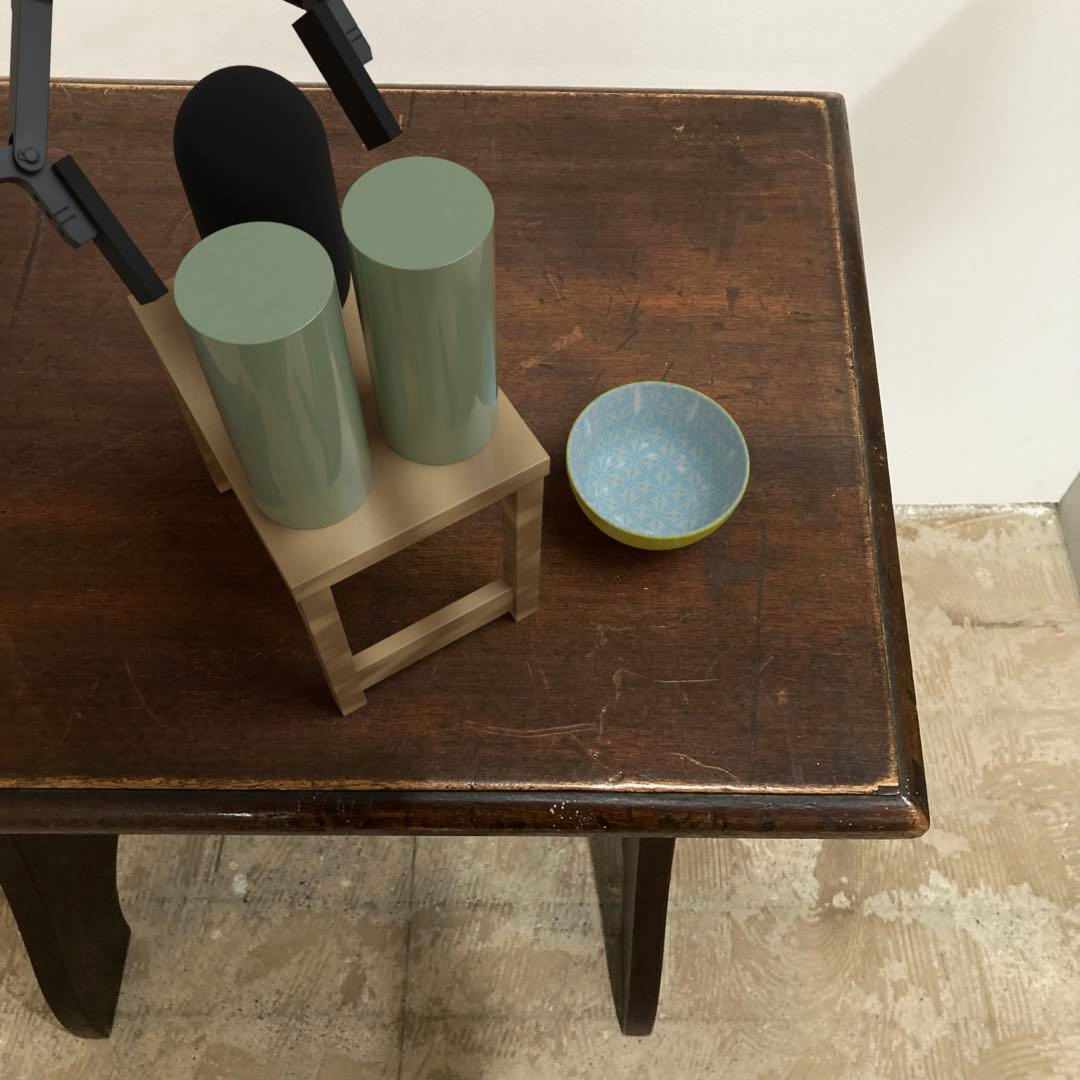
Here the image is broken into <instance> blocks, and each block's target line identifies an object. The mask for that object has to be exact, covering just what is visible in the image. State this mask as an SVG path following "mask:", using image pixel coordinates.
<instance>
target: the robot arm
mask: <svg viewBox="0 0 1080 1080" xmlns="http://www.w3.org/2000/svg"><path fill="white" fill-rule="evenodd" d="M282 1H283V2H285V3H287V4H290V5H292V6H294V7H296V8H298V9H300V10H302V11H303V10H304V11H305V13H304V14H302V15H301V16H300V17H298V19H296V20H295V21H294V22H293V23H291V27H292V29H293V30H294V32H295V33H296V35H297V37H298V39H299V40H300V42H301V44H302V45H303V47H304V48H305V50H306V51H307V53H308V54H309V56H310V58H311V60H312V61H313V62H314V65H315V66H316V68H317V70H318V71H319V73H320V74H321V76H322V78H323V79H324V81H325V82H326V84H327V86H328V87H329V89H330V91H331V92H332V95H333V96H334V98H335V99H336V101H337V103H338V104H339V105H340V107H341V109H342V110H343V112H344V114H345V116H346V117H347V119H348V120H349V122H350V124H351V125H352V127H353V128H354V131H355V132H356V134H357V135H358V137H359V138H360V140H361V142H362V143H363V145H364V147H365V148H366V150H367V152H371V151H373V150H375V149H377V148H379V147H381V146H383V145H385V144H387V143H389V142H392V141H393V140H395V139H396V138H398V137H399V136H400V135H402V134H403V133H404V131H403V130H402V128H401V126H400V124H399V123H398V121H397V120H396V118H395V116H394V115H393V113H392V111H391V109H390V108H389V106H388V105H387V102H386V101H385V99H384V98H383V96H382V95H381V92H380V90H379V89H378V88H377V86H376V84H375V83H374V81H373V79H372V77H371V76H370V74H369V73H368V71H367V69H366V67H365V65H366V64H368V63H370V62H371V61H373V60H374V57H373V53H372V48H371V45H370V44H369V42H368V40H367V39H366V37H365V36H364V34H363V32H362V30H361V28H360V27H359V25H358V23H357V22H356V19H354V17H353V15H352V13H351V12H350V10H349V8H348V7H347V5H346V3H345V1H344V0H282ZM53 6H54V0H10V9H11V27H10V28H11V30H10V52H9V54H10V58H9V83H8V85H9V86H8V107H7V108H8V109H7V110H8V111H7V112H8V113H7V138H6V139H7V141H6V145H1V146H0V185H2V184H14V185H17V186H18V187H20V188H22V189H23V190H24V191H25V192H26V193H27V194H28V195H29V197H30V198H31V199H32V202H33V203H35V205H36V207H38V209H39V210H40V212H41V213H42V215H43V216H44V217H45V218H46V220H47V221H48V222H49V224H50V226H51V227H52V228H53V229H54V230H55V232H56V233H57V234H58V235H59V237H60V238H61V239H62V241H63V242H64V243H65V244H67V245H68V246H70V247H72V248H73V249H75V250H78V249H79V248H80V247H82V246H84V245H85V244H87V243H89V242H90V241H92V242H93V244H94V245H95V246H96V248H97V249H98V250H99V251H100V253H101V255H102V256H103V257H104V258H105V260H106V261H107V262H108V264H109V265H110V267H111V268H112V269H113V271H114V272H115V273H116V274H117V276H118V277H119V279H120V280H121V281H122V283H123V284H124V286H125V287H126V289H128V291H129V292H130V293H131V295H133V296H134V297H135V299H136V300H137V301H138V303H139V304H140V305H144V304H148V303H151V302H154V301H156V300H157V299H159V298H160V297H162V296H163V295H165V294H166V293H168V292H169V290H168V289H167V287H166V286H165V285H164V283H163V281H162V279H161V278H160V276H159V274H158V273H157V272H156V271H155V269H154V267H152V265H151V264H150V263H149V260H147V258H146V257H145V256H144V254H143V253H142V251H141V250H140V249H139V247H138V246H137V245H136V243H135V242H134V241H133V240H134V239H132V238H131V236H130V235H129V234H128V232H127V231H126V229H125V228H124V226H123V225H122V224H121V223H120V221H119V220H118V218H117V217H116V216H115V214H114V213H113V212H112V210H111V209H110V208H109V206H108V205H107V203H106V202H105V201H104V199H103V198H102V196H101V194H100V193H99V192H98V191H97V190H96V188H95V187H94V185H93V184H92V183H91V181H90V180H89V178H88V177H87V176H86V173H84V171H83V170H82V169H81V167H80V166H79V164H78V163H77V162H76V161H75V159H74V157H73V156H72V155H71V153H68V154H67V155H65V156H64V157H62V158H60V159H58V160H57V161H55V162H54V163H53V164H52V163H51V162H50V159H49V158H48V137H49V136H48V134H49V114H50V113H49V109H50V88H51V87H50V82H51V80H50V79H51V61H52V59H51V57H52V35H53V34H52V33H53V32H52V31H53V10H54V9H53V8H54V7H53Z"/></svg>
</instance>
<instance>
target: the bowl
mask: <svg viewBox="0 0 1080 1080" xmlns="http://www.w3.org/2000/svg"><path fill="white" fill-rule="evenodd" d="M567 437H568V438H567V442H566V449H565V461H566V462H565V464H566V473H567V478H568V481H569V485H570V489H571V491H572V493H573V495H574V498H575V500H576V502H577V504H578V506H579V508H580V509H581V510H582V512H583V513H584V514H585V515H586V517H587V518H588V519H589V520H590V522H591V523H592V524H593V525H594V526H596V527H597V529H599V530H600V531H601V532H603V533H604V534H605V535H606V536H608V537H610V538H611V539H613V540H615V541H617V542H620V543H622V544H624V545H627V546H630V547H632V548H637V549H642V550H648V551H649V550H650V551H666V550H667V551H668V550H675V549H680V548H683V547H687V546H689V545H692V544H694V543H696V542H699V541H700V540H703V539H705V538H706V537H708V536H709V535H711V534H713V533H714V532H715V531H716V530H717V529H718V528H720V527H721V525H723V524H725V522H726V521H727V520H729V518H730V516H731V515H732V514H733V513H734V511H735V510H736V508H737V507H738V505H739V504H740V502H741V500H742V498H743V496H744V494H745V492H746V488H747V486H748V482H749V478H750V465H751V464H750V463H751V462H750V454H749V450H748V449H749V448H748V445H747V442H746V439H745V436H744V435H743V433H742V430H741V429H740V427H739V426H738V424H737V422H736V421H735V419H733V417H732V416H731V415H730V413H728V412H727V411H726V409H725V408H723V407H722V406H721V405H720V404H719V403H717V401H715V400H714V399H712V398H711V397H709V396H707V395H705V394H704V393H702V392H701V391H698V390H696V389H694V388H692V387H689V386H686V385H682V384H679V383H672V382H667V381H658V380H656V381H655V380H647V381H637V382H632V383H626V384H623V385H620V386H618V387H615V388H612V389H610V390H608V391H605V392H603V393H602V394H600V395H599V396H597V397H596V398H594V400H592V401H591V402H590V403H588V404H587V405H586V407H584V409H583V410H582V411H581V412H580V413H579V415H578V416H577V418H576V419H575V421H574V423H573V424H572V426H571V429H570V431H569V433H568V436H567Z"/></svg>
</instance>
